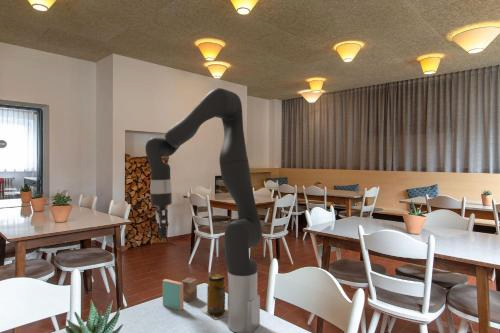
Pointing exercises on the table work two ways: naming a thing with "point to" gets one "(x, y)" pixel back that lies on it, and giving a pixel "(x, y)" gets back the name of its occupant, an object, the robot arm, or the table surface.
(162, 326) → the table surface
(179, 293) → the tile
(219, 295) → the condiment
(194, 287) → the block
